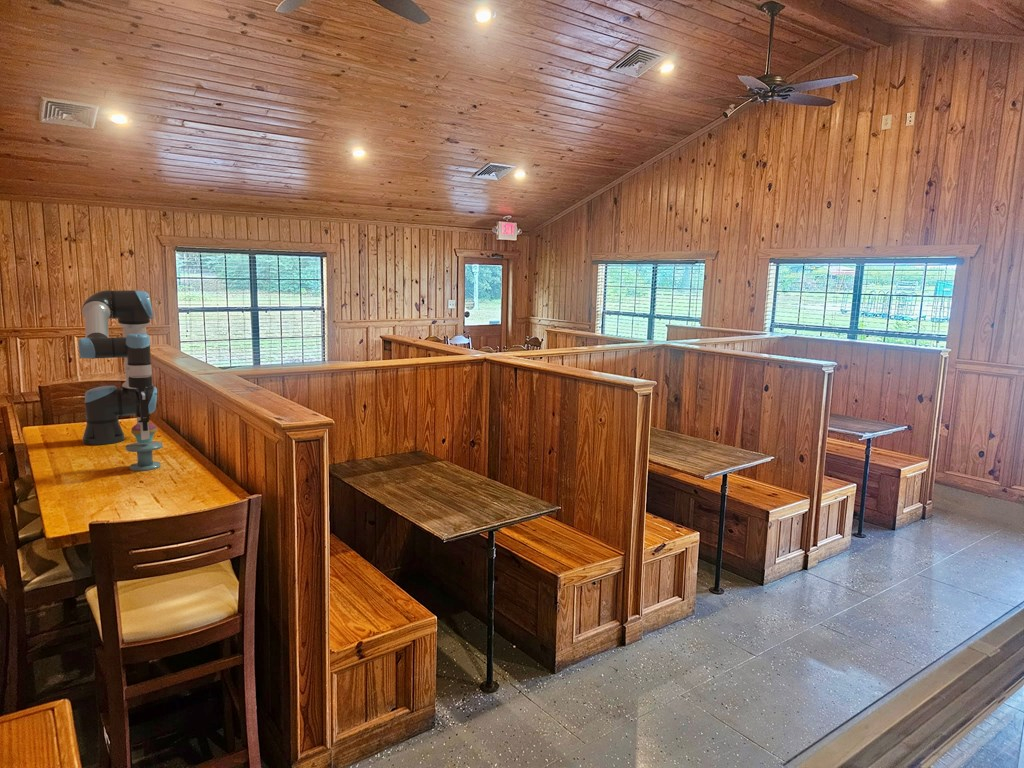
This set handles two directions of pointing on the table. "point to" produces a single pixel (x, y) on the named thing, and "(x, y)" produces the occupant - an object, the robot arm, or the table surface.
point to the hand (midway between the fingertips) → (143, 436)
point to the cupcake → (137, 432)
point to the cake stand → (144, 455)
